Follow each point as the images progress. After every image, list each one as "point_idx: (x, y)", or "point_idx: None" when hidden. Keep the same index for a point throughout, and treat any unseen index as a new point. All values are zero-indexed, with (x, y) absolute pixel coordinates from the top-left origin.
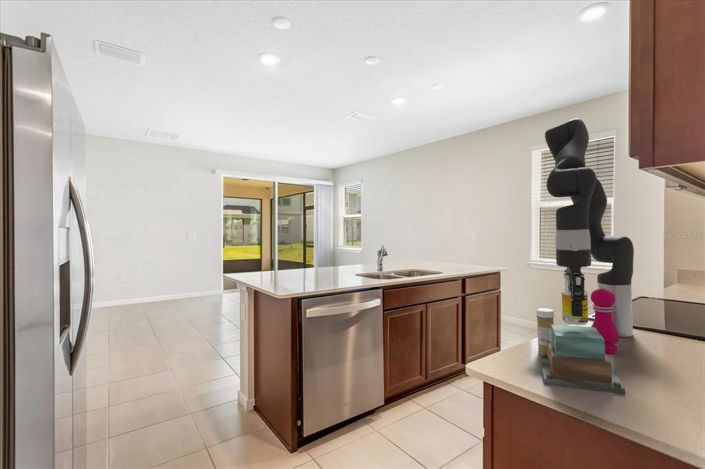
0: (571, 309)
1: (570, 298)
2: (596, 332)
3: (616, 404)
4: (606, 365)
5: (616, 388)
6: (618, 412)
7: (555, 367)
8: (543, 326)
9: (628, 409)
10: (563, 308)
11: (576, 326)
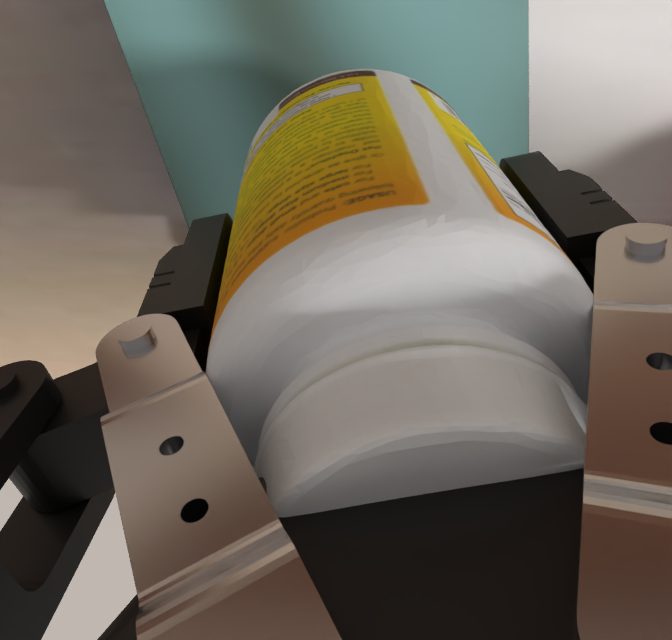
0: (208, 242)
1: (120, 335)
2: None
3: (81, 229)
4: None
5: None
6: (10, 235)
7: None
8: None
9: (67, 264)
10: (300, 134)
11: (516, 148)
